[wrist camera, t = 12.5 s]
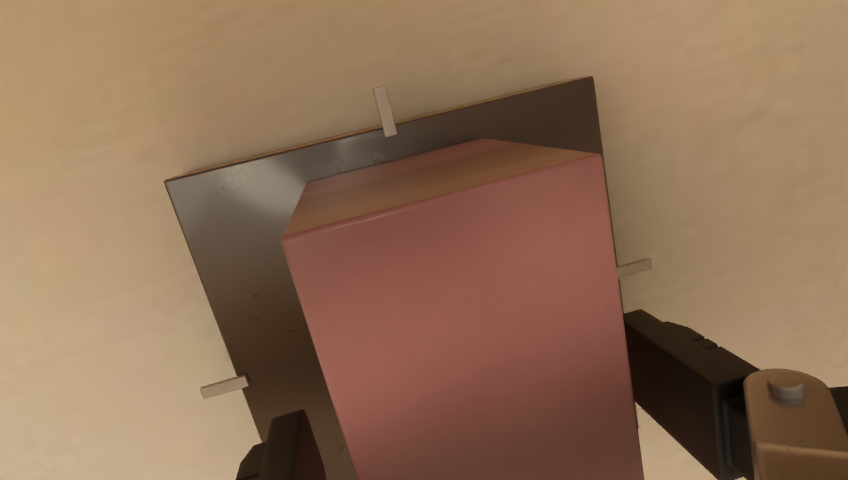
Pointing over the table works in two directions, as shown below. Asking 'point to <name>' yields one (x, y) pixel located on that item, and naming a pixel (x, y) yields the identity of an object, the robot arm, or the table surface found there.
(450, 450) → the pink rectangular block
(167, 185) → the brown square platform
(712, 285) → the table surface
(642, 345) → the robot arm
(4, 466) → the table surface
